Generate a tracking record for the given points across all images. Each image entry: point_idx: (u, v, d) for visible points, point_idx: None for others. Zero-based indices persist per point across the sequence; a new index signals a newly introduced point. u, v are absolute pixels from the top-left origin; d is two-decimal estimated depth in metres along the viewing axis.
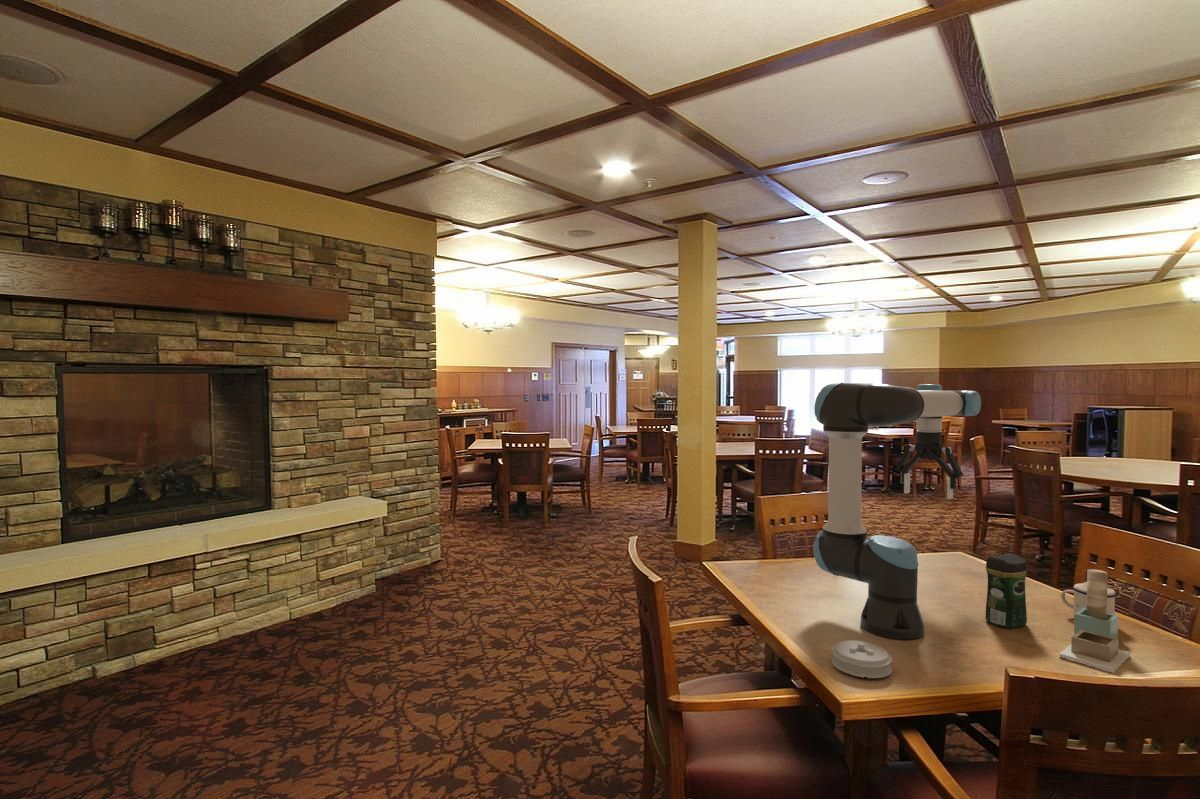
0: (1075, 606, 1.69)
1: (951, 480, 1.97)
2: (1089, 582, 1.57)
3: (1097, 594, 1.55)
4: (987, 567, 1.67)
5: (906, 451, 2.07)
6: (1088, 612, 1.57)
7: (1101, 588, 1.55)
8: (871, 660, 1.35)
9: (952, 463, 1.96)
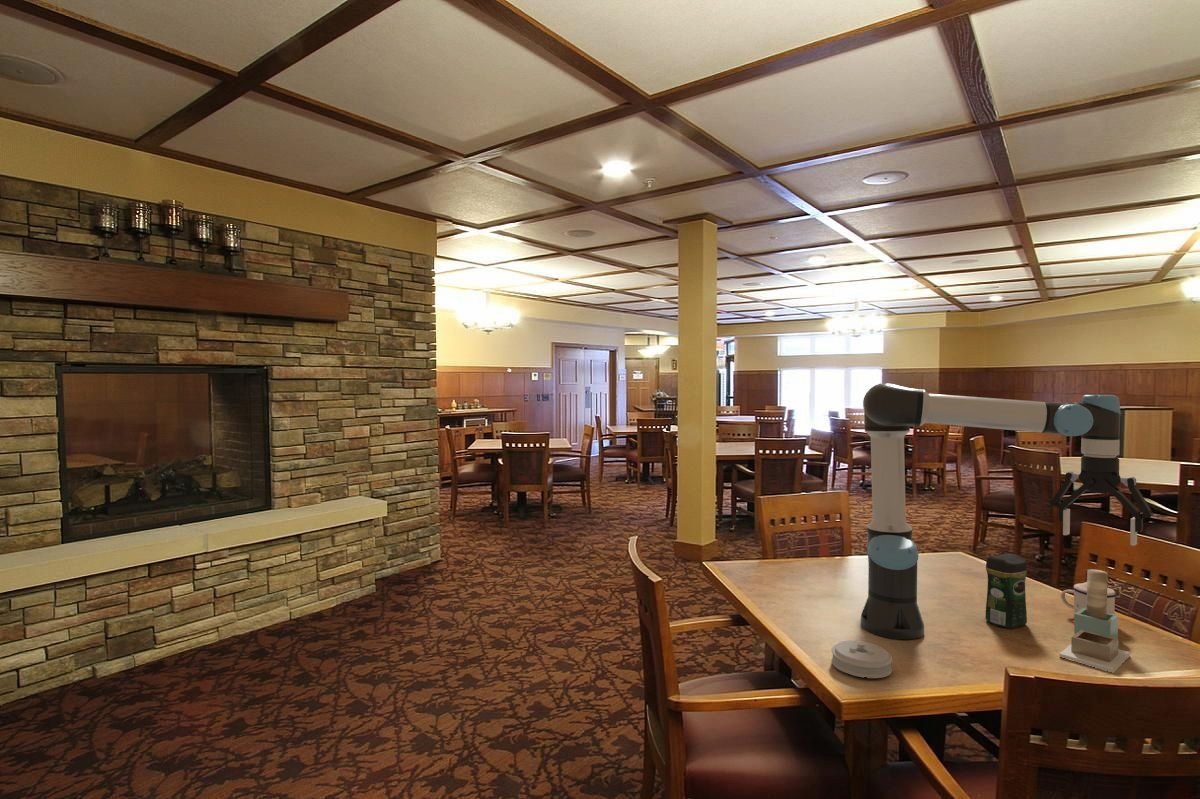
0: (1075, 606, 1.69)
1: (1136, 521, 1.50)
2: (1089, 582, 1.57)
3: (1097, 594, 1.55)
4: (987, 567, 1.67)
5: (1066, 481, 1.61)
6: (1088, 612, 1.57)
7: (1102, 588, 1.55)
8: (871, 660, 1.35)
9: (1138, 499, 1.49)
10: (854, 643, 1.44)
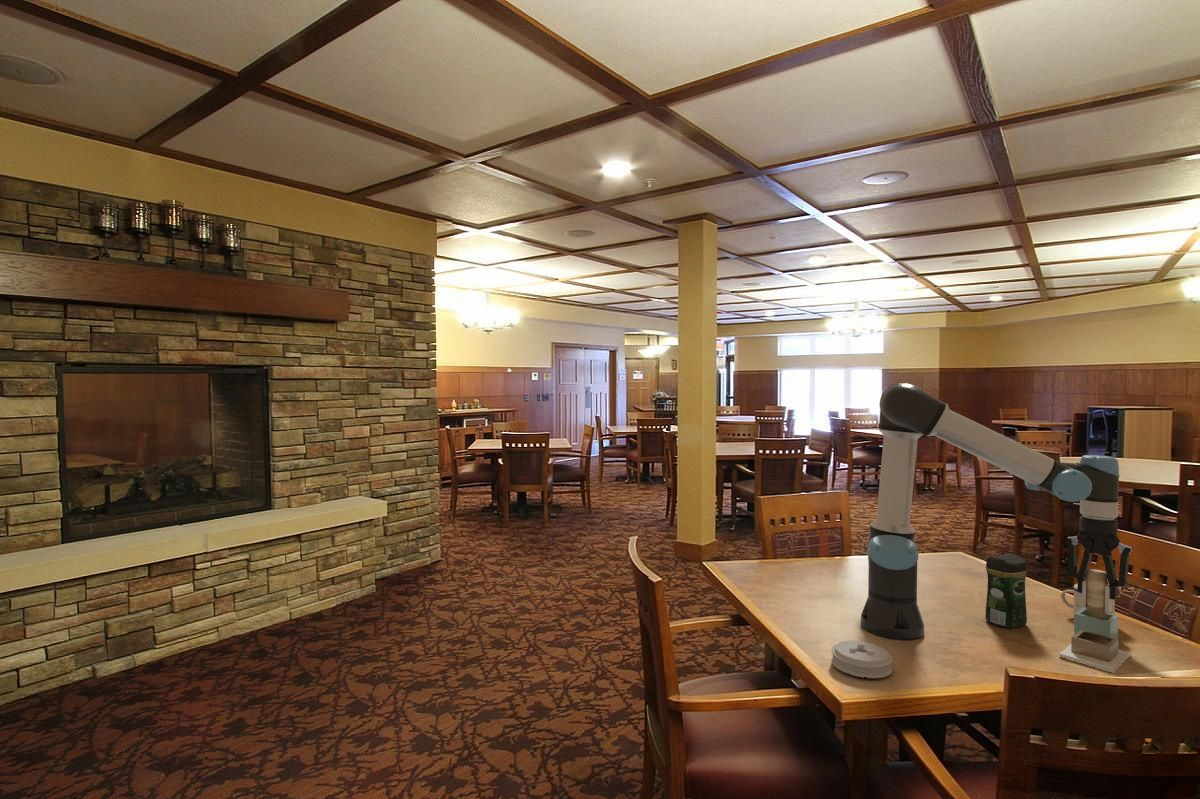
0: (1075, 606, 1.69)
1: (1111, 588, 1.54)
2: (1089, 582, 1.57)
3: (1097, 594, 1.55)
4: (987, 567, 1.67)
5: (1070, 547, 1.60)
6: (1088, 612, 1.57)
7: (1102, 588, 1.55)
8: (871, 660, 1.35)
9: (1123, 568, 1.52)
10: (854, 643, 1.44)
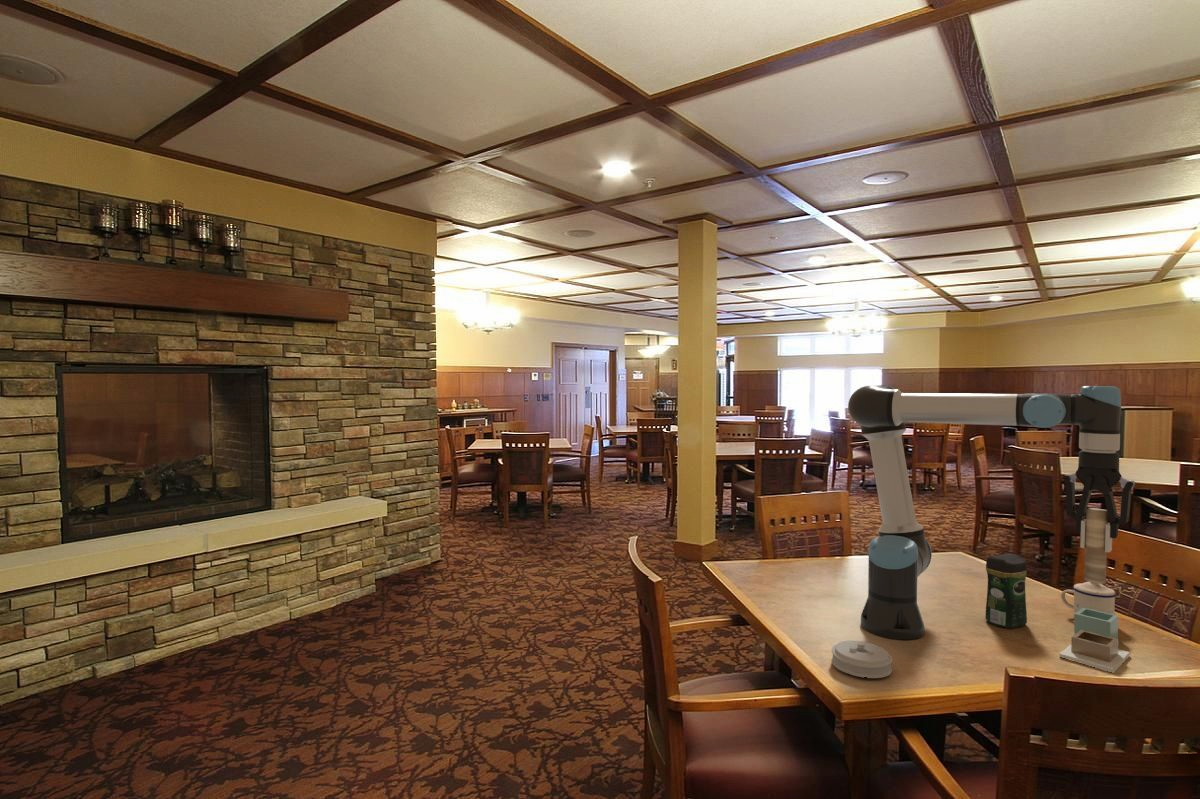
0: (1075, 606, 1.69)
1: (1111, 526, 1.44)
2: (1088, 520, 1.47)
3: (1097, 533, 1.45)
4: (987, 567, 1.67)
5: (1068, 484, 1.50)
6: (1087, 553, 1.47)
7: (1102, 526, 1.45)
8: (871, 660, 1.35)
9: (1125, 503, 1.42)
10: (854, 643, 1.44)
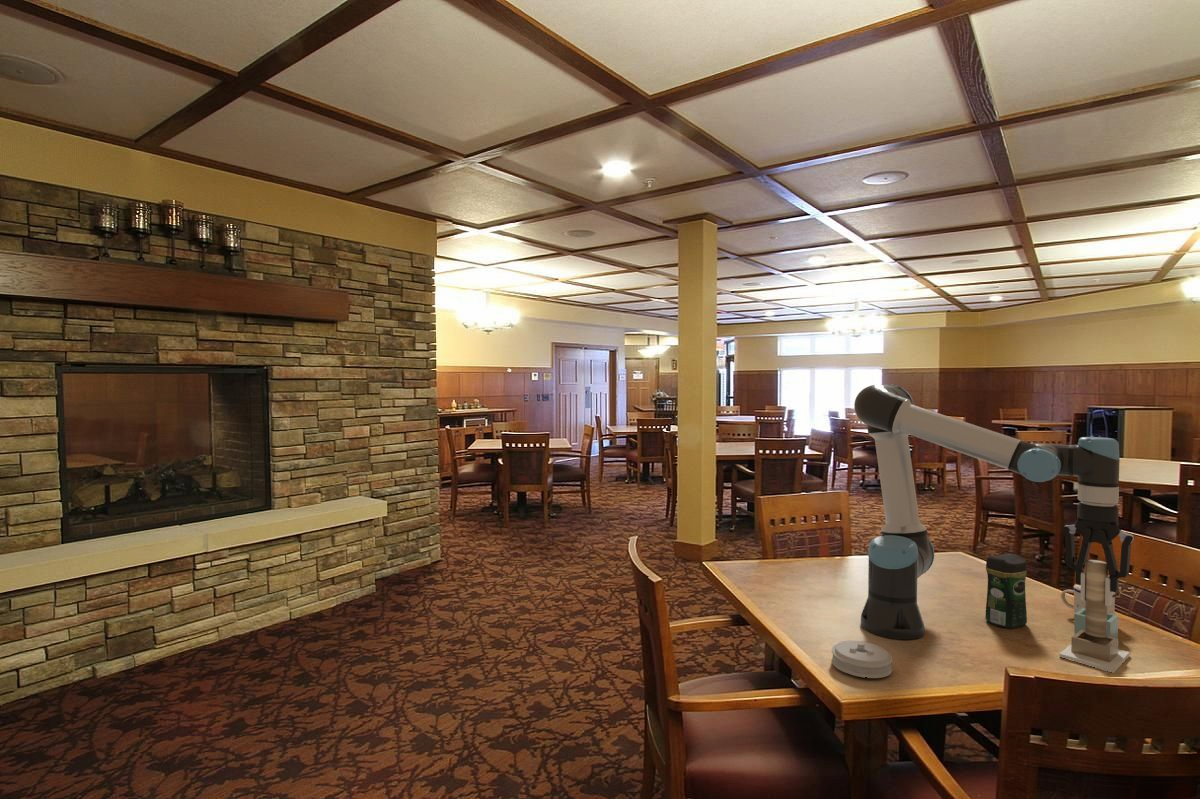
0: (1075, 606, 1.69)
1: (1111, 580, 1.43)
2: (1088, 573, 1.46)
3: (1097, 586, 1.44)
4: (987, 567, 1.67)
5: (1067, 536, 1.49)
6: (1087, 606, 1.46)
7: (1101, 579, 1.44)
8: (871, 660, 1.35)
9: (1125, 557, 1.41)
10: (854, 643, 1.44)
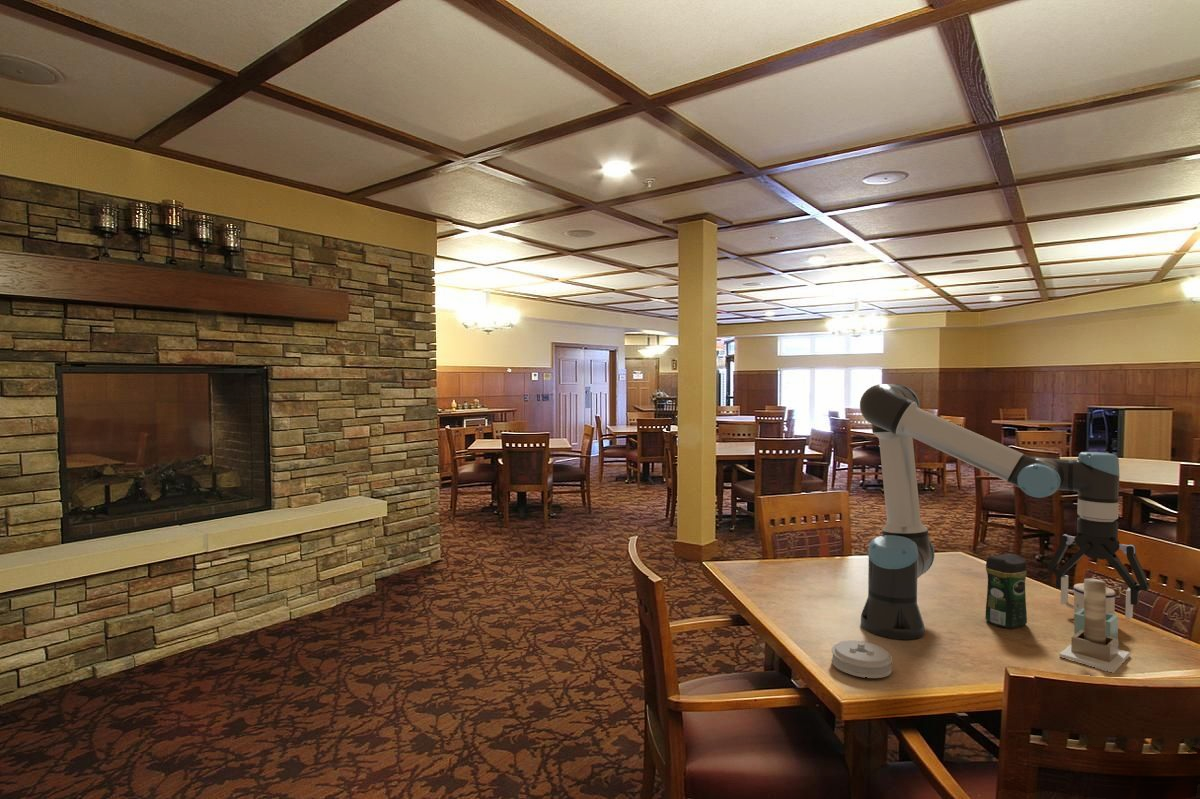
0: (1075, 606, 1.69)
1: (1132, 593, 1.40)
2: (1086, 592, 1.46)
3: (1095, 605, 1.44)
4: (987, 567, 1.67)
5: (1062, 545, 1.50)
6: (1086, 625, 1.46)
7: (1100, 598, 1.44)
8: (871, 660, 1.35)
9: (1136, 569, 1.39)
10: (854, 643, 1.44)
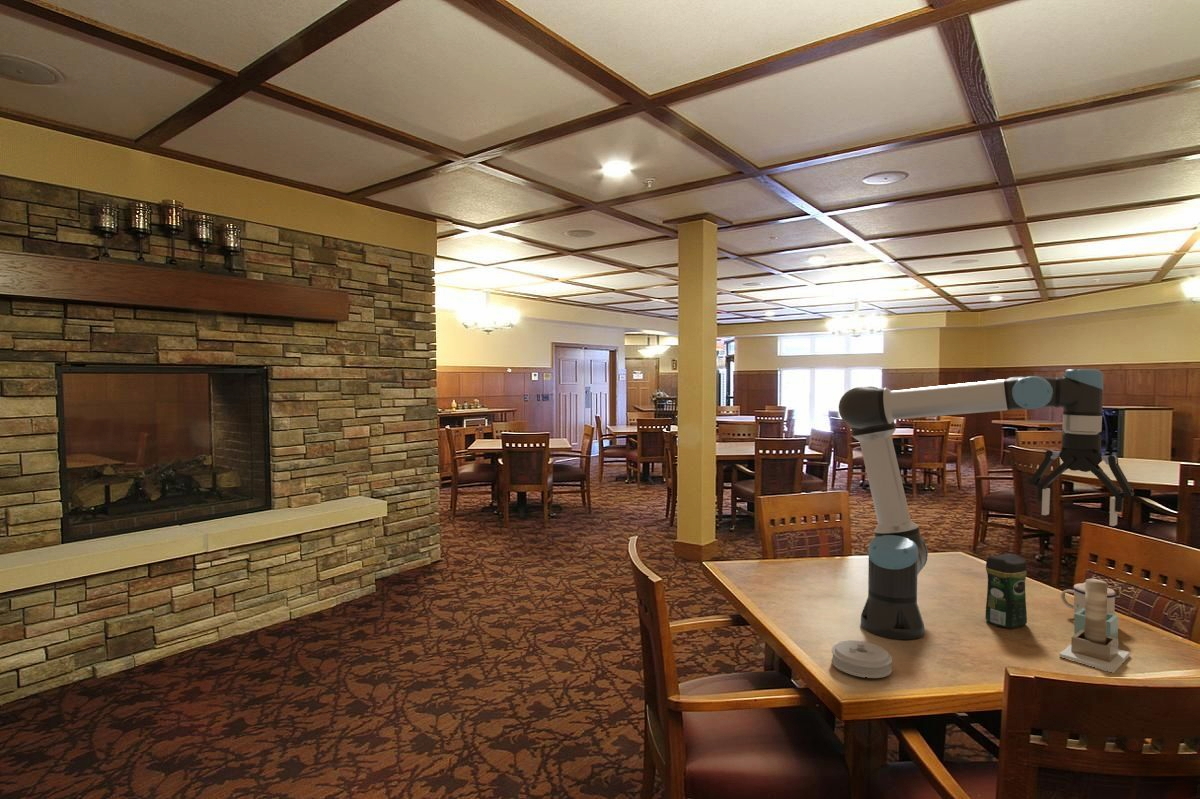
0: (1075, 606, 1.69)
1: (1116, 500, 1.44)
2: (1087, 592, 1.46)
3: (1096, 606, 1.44)
4: (987, 567, 1.67)
5: (1046, 459, 1.55)
6: (1086, 625, 1.46)
7: (1101, 599, 1.44)
8: (870, 659, 1.35)
9: (1119, 477, 1.43)
10: (854, 643, 1.44)
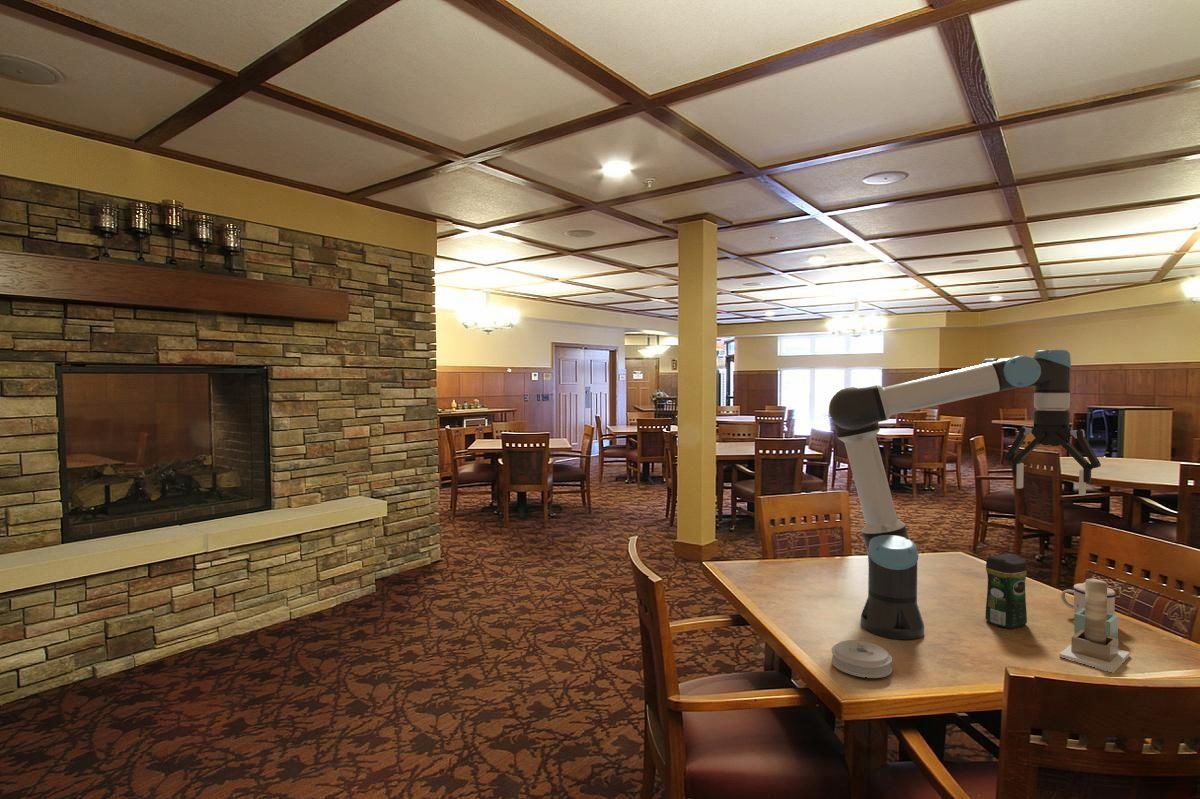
0: (1075, 606, 1.69)
1: (1085, 471, 1.54)
2: (1087, 592, 1.46)
3: (1096, 606, 1.44)
4: (987, 567, 1.67)
5: (1020, 435, 1.64)
6: (1086, 625, 1.46)
7: (1101, 599, 1.44)
8: (870, 659, 1.35)
9: (1087, 450, 1.53)
10: (854, 643, 1.44)
